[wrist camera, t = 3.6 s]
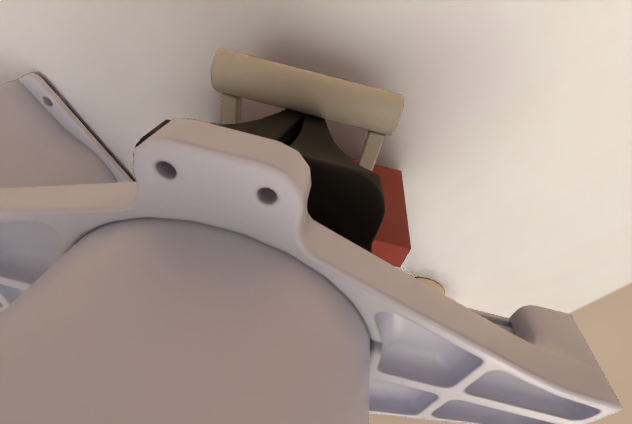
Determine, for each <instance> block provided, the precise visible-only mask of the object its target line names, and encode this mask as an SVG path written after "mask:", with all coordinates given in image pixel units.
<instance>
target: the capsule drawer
mask: <svg viewBox="0 0 632 424" xmlns="http://www.w3.org/2000/svg"><path fill="white" fill-rule="evenodd" d="M211 82H212V86H213V88H214V89H215V90H216V91H218V92H222V93H223V94H222V95H221V124H236V123H241V101H242V98H246V99H250V100H253V101H257V102H261V103H265V104H269V105H273V106H277V107H281V108H285V109H289V110H292V111H296V112H300V113H304V114H308V115H312V116H316V117H320V118H324V119H328V120H331V121H335V122H339V123H343V124H347V125H351V126H355V127H359V128H363V129H367V130H368V133H367V136H366V139H365V142H364V145H363V148H362V151H361V154H360V157H359V160H356V159H352V158H350V159H351V160H353V161H354V162H356V163H357V164H359V165H360V166H362V167H364V168H366V169H368V170H370V171H373V172H375V173H377V174H379V176H380V179H381V183H382V187H383V191H384V197H385V214H384V218H383V221H382V223H381V225H380V228H379V230H378V232H377V234H376V236H375V238H374V240H373V243H372V254H374V255H376V256H377V257H379V258H381V259H383V260H384V261H386V262H388V263H389V264H391V265H393V266H396V267H401V265H402V263H403V261H404V260H405V258H406V256H407V255H408V253H409V251H410V249H411V245H410V237H409V229H408V221H407V213H406V205H405V197H404V189H403V181H402V173H401V171H399V170H395V169H391V168H387V167H383V166H379V165H375V162H376V159H377V157H378V154H379V151H380V149H381V146H382V143H383V141H384V138H385V134H386V135H392V134H393V133H394V132H395V130H396V128H397V126H398V123H399V121H400V118H401V115H402V111H403V107H404V96H403V95H401V94H397V93H393V92H389V91H386V90H382V89H378V88H374V87H370V86H366V85H362V84H358V83H355V82H351V81H347V80H343V79H339V78H335V77H331V76H327V75H323V74H320V73H316V72H312V71H308V70H304V69H300V68H296V67H292V66H289V65H285V64H281V63H277V62H273V61H269V60H265V59H261V58H257V57H254V56H250V55H246V54H242V53H238V52H234V51H230V50H226V49H223V48H221V49H218V50H217V51H216V53H215V55H214V57H213V61H212V66H211ZM210 124H214V125H219V124H215V123H210Z"/></svg>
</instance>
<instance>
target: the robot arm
mask: <svg viewBox="0 0 632 424" xmlns="http://www.w3.org/2000/svg"><path fill="white" fill-rule="evenodd" d="M50 100H51V101H52V102H51V101H50ZM133 169H134V174H135V178H136V182H133V180H132V179H131V178H130V177H129V176H128V175H127V174H126V173H125V171H124V170H123V169H122V168H121V167H120V166H119V165H118V163H117V162H116V161H115V160H114V159H113V158H112V157H111V156H110V154H109V153H108V152H107V151H106V150H105V149H104V148H103V147H102V145H101V144H100V143H99V142H98V141H97V140H96V139H95V137H94V136H93V135H92V134H91V133H90V132H89V131H88V130H87V128H86V127H85V126H84V125H83V124H82V123H81V122H80V120H79V119H78V118H77V117H76V116H75V115H74V114H73V113H72V111H71V110H70V109H69V108H68V107H67V106H66V105H65V104H64V102H63V101H62V100H61V99H60V98H59V97H58V96H57V94H56V93H55V92H54V91H53V90H52V89H51V88H50V87H49V85H48V84H47V83H46V82H45V81H44V80H43V79H42V78H41V77H40V76H39V75H37V74H35V73H29V74H26V75H24V76H22V77H21V78H19V79H18V80H15V81H12V82H8V83H5V84H2V85H0V424H369V413H375V414H384V415H392V416H402V417H410V418H419V419H427V420H437V421H445V422H454V423H461V424H589V423H591V422H594V421H596V420H599V419H601V418H604V417H606V416H609V415H611V414H614V413H616V412H619V411H621V409H622V405H621V404H620V402H619V400H618V398H617V396H616V395H615V393H614V391H613V389H612V387H611V386H610V384H609V382H608V380H607V378H606V377H605V375H604V373H603V371H602V369H601V368H600V366H599V364H598V362H597V360H596V359H595V357H594V355H593V353H592V351H591V350H590V348H589V346H588V344H587V343H586V341H585V339H584V337H583V335H582V334H581V332H580V330H579V329H578V326H577V325H576V323H575V321H574V319H573V317H572V316H571V315H570V314H567V313H563V312H559V311H555V310H551V309H547V308H543V307H539V306H534V305H528V306H523V307H521V308H519V309H518V310H517V311H516V312H515V313H514V314H513V315H512V316H511V317H510V318H505V317H501V316H497V315H493V314H490V313H486V312H482V311H478V310H474V309H470V308H466V307H465V306H463V305H461V304H459V303H458V302H456V301H454V300H452V299H451V298H449V297H447V296H445V295H444V294H442V293H440V292H438V291H437V290H435V289H433V288H431V287H430V286H428V285H426V284H424V283H423V282H421V281H419V280H417V279H416V278H414V277H412V276H410V275H409V274H407V273H405V272H403V271H402V270H400V269H398V268H396V267H395V266H393V265H391V264H389V263H388V262H386V261H384V260H383V259H381V258H379V257H377V256H376V255H374V254H372V243H373V240H374V238H375V236H376V234H377V232H378V230H379V228H380V225H381V223H382V221H383V218H384V214H385V197H384V191H383V187H382V183H381V179H380V176H379V174H377V173H375V172H373V171H370V170H368V169H366V168H364V167H362V166H360V165H359V164H357V163H356V162H354V161H353V160H351V159H350V158H349V157H348V156H347V155H345V154H344V153H343V152H342V151H341V150H340V148H339V147H338V146H337V145H336V143H335V142H334V140H333V139H332V137H331V135H330V132H329V130H328V127H327V124H326V120H325V119H324V118H320V117H316V116H312V115H308V114H304V113H300V112H296V111H292V110H289V109H286V110H283V111H281V112H278V113H276V114H273V115H270V116H267V117H264V118H261V119H258V120H254V121H249V122H244V123H236V124H221V125H214V124H210V123H206V122H203V121H199V120H195V119H173V120H165V121H164V122H162V123H161V124H160V125H158V126H157V127H156V128H154V129H153V130H152V131H150V132H149V133H148V134H146V135H145V136H143V137H142V138H141V139H140V141H139V142H138V143H137V144H136V146H135V149H134V153H133Z"/></svg>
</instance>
